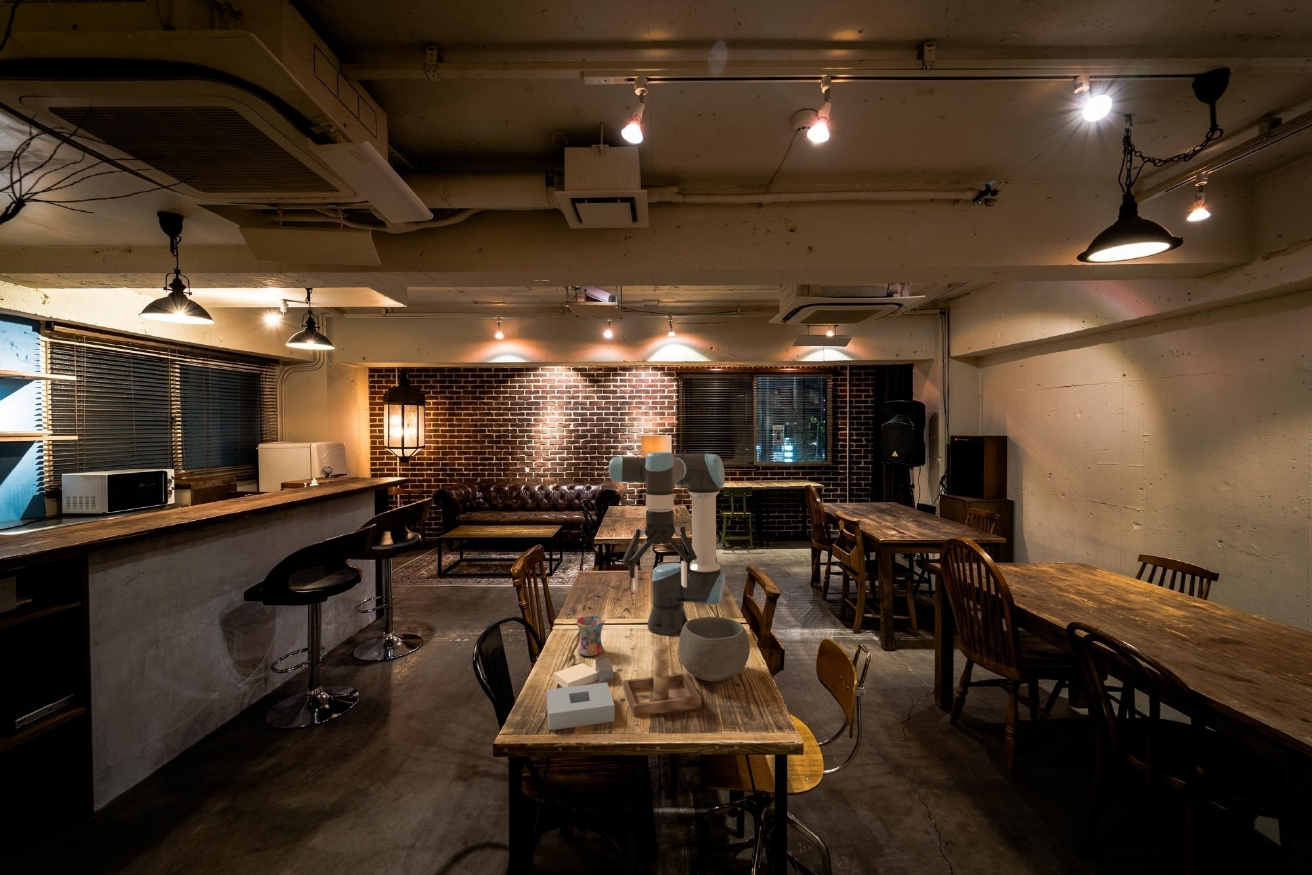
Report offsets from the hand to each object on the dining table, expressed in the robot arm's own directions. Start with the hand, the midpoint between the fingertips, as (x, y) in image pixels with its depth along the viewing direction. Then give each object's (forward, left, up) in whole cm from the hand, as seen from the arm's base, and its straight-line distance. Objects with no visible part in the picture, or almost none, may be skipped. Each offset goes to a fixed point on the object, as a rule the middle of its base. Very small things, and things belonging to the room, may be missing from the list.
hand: (660, 587), depth 140 cm
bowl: (-19, -10, -31) cm, 38 cm away
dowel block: (+22, +2, -31) cm, 38 cm away
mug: (+14, -37, -31) cm, 50 cm away
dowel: (0, 0, -30) cm, 30 cm away
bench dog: (+13, -16, -31) cm, 37 cm away
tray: (0, 0, -31) cm, 31 cm away
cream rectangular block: (+21, -15, -31) cm, 41 cm away
